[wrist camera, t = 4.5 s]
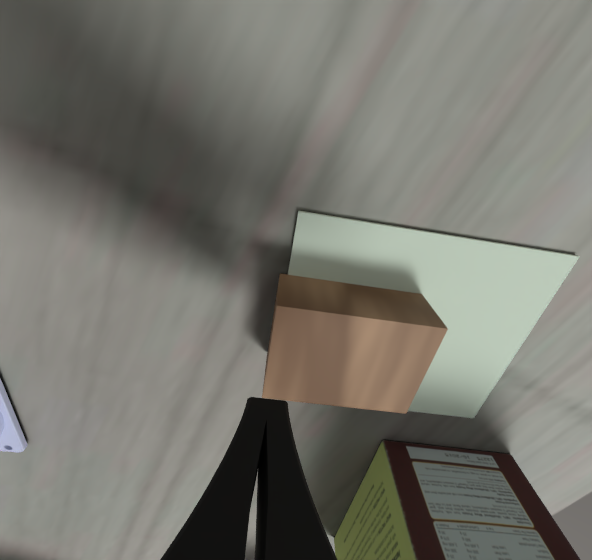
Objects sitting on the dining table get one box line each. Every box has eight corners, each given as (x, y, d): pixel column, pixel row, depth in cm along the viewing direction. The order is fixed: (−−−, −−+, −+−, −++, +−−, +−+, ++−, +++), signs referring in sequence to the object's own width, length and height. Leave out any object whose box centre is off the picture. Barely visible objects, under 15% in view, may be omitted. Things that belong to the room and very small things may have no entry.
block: (261, 397, 15) (406, 413, 15) (276, 305, 12) (448, 328, 13) (266, 356, 17) (389, 371, 18) (279, 273, 15) (421, 293, 16)
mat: (267, 393, 19) (267, 395, 19) (298, 210, 14) (298, 211, 14) (472, 415, 20) (473, 418, 20) (576, 255, 15) (579, 256, 15)
